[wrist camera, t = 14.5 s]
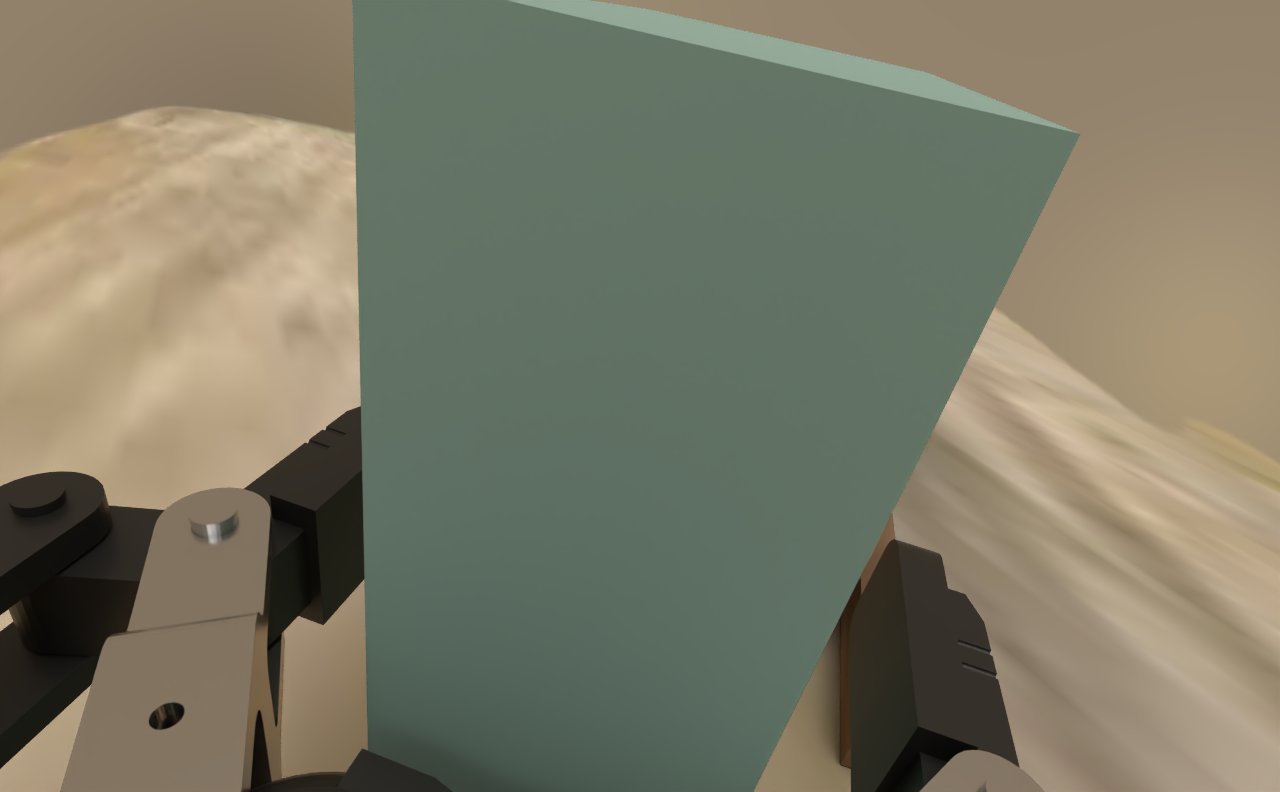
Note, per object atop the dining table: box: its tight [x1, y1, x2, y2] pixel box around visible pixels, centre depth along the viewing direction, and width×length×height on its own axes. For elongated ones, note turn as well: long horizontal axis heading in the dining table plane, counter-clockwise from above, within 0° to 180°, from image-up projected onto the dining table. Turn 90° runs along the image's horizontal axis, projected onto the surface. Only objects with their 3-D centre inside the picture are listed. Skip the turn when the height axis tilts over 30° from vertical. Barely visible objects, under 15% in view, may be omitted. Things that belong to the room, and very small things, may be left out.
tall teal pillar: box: [352, 0, 1080, 792], centre depth 12 cm, size 4×7×20 cm, turn 165°
